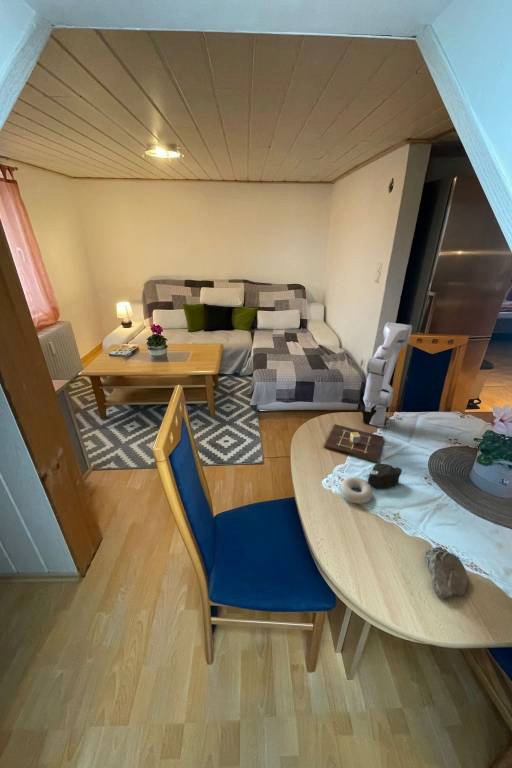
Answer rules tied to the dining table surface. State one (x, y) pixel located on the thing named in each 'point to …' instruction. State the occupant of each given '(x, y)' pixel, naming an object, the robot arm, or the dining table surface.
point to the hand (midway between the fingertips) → (368, 418)
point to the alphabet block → (355, 437)
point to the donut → (356, 496)
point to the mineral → (384, 476)
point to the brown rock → (446, 572)
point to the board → (363, 449)
